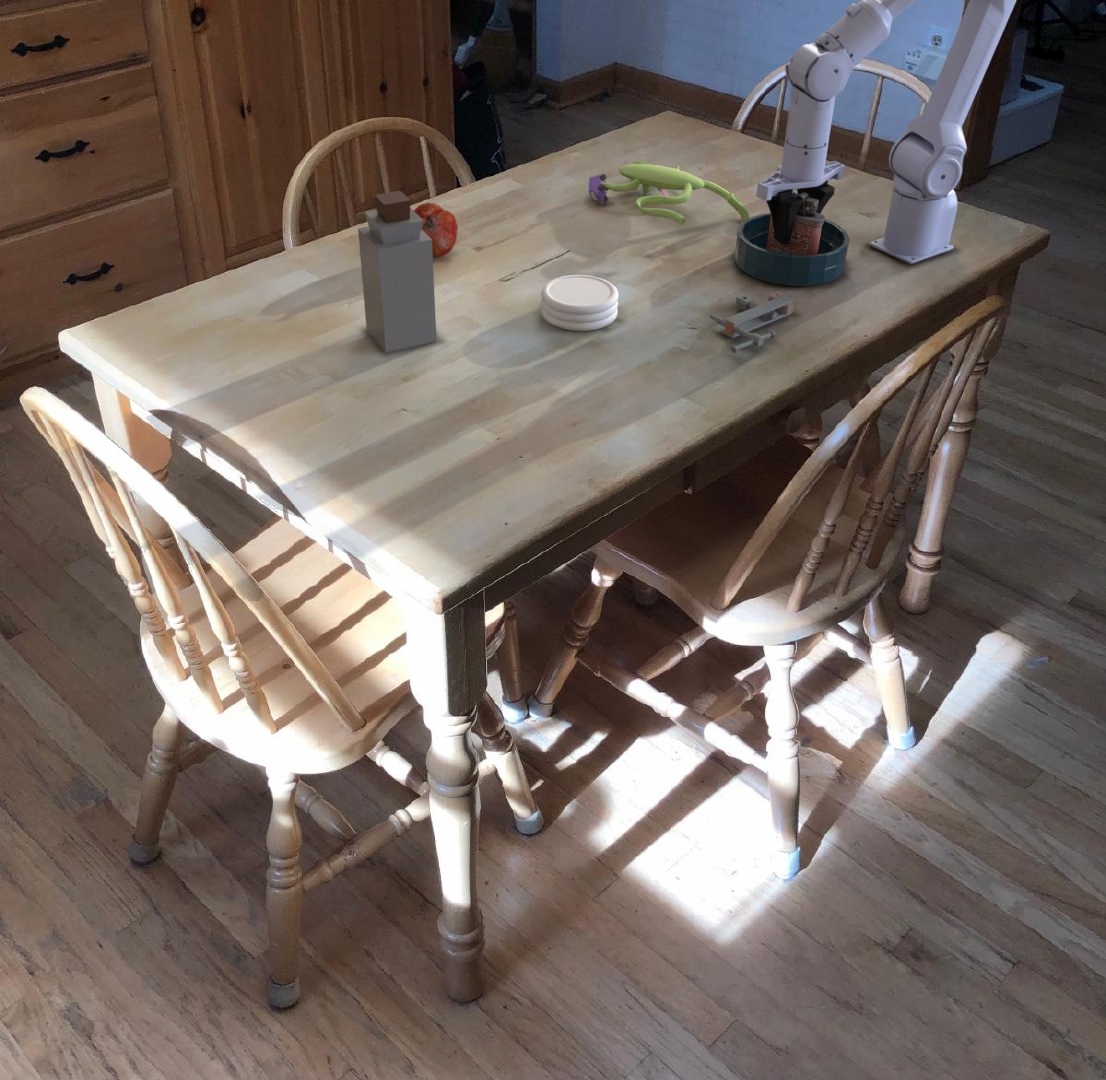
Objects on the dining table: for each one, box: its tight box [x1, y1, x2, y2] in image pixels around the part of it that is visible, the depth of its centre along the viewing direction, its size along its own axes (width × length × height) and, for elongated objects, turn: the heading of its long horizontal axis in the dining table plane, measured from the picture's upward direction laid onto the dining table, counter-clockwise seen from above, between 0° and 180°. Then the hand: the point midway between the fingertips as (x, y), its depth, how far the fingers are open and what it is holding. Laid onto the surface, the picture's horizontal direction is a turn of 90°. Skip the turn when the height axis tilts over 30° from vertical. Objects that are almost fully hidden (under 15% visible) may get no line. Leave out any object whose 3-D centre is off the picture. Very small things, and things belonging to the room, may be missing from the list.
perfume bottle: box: [357, 190, 438, 353], centre depth 148 cm, size 7×7×18 cm
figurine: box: [587, 159, 750, 226], centre depth 186 cm, size 18×27×6 cm
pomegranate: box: [413, 202, 459, 257], centre depth 172 cm, size 7×7×10 cm
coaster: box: [540, 274, 620, 332], centre depth 158 cm, size 10×10×4 cm
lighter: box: [765, 191, 826, 255], centre depth 169 cm, size 8×3×10 cm, turn 50°
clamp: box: [709, 291, 795, 354], centre depth 156 cm, size 15×2×10 cm
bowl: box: [734, 212, 850, 287], centre depth 171 cm, size 15×15×4 cm
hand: (792, 238), depth 170 cm, fingers closed on lighter, 4 cm apart
